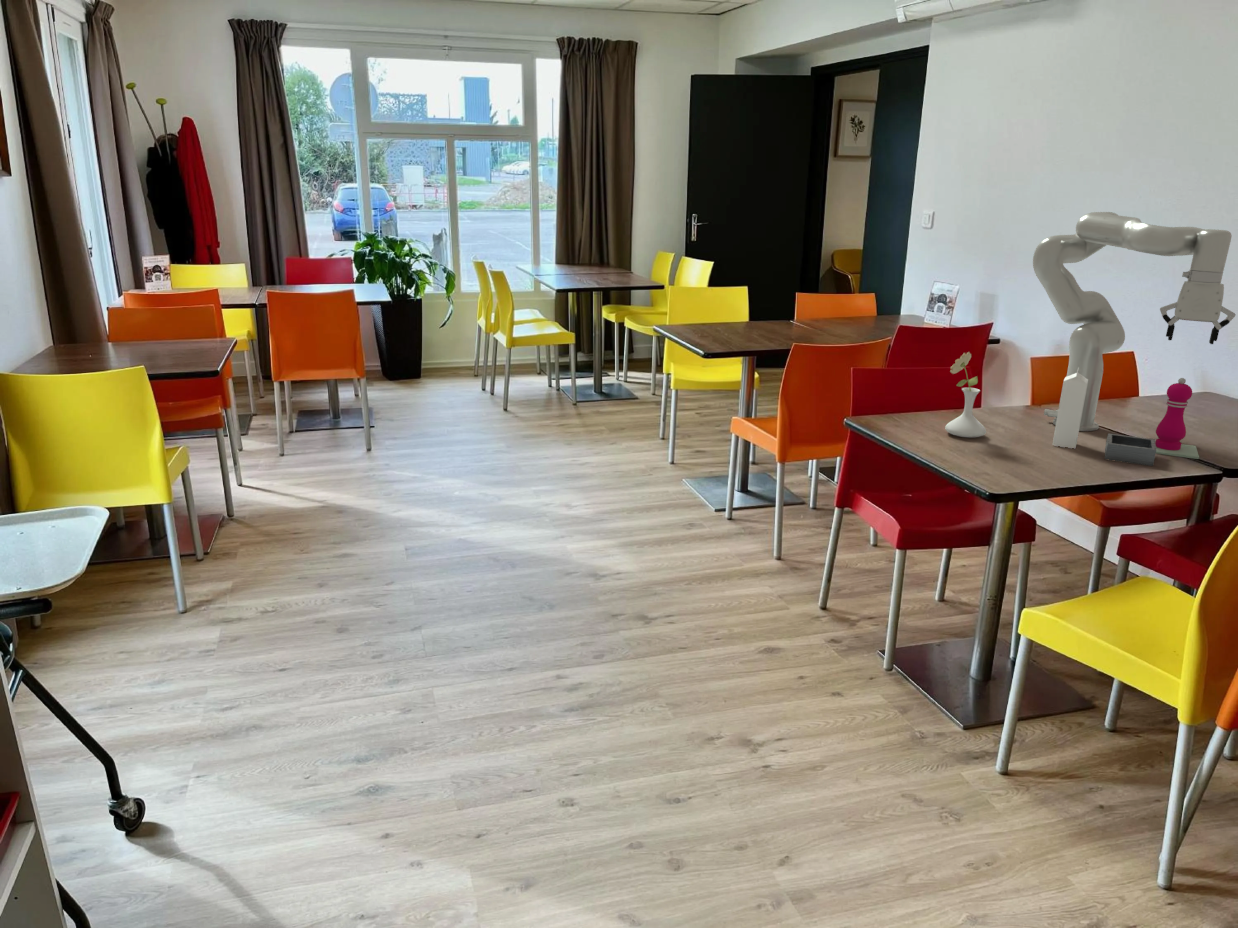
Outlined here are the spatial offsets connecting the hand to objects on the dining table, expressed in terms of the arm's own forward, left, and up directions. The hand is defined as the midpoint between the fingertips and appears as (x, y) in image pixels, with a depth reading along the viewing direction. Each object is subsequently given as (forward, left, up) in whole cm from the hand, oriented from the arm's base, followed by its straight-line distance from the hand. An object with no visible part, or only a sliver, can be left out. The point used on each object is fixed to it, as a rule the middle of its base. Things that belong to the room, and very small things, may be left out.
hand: (1190, 341), depth 240 cm
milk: (-26, -10, -31) cm, 41 cm away
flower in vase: (-53, -15, -31) cm, 63 cm away
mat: (0, 0, -31) cm, 31 cm away
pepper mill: (0, 0, -30) cm, 30 cm away
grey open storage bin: (-10, -14, -31) cm, 35 cm away
